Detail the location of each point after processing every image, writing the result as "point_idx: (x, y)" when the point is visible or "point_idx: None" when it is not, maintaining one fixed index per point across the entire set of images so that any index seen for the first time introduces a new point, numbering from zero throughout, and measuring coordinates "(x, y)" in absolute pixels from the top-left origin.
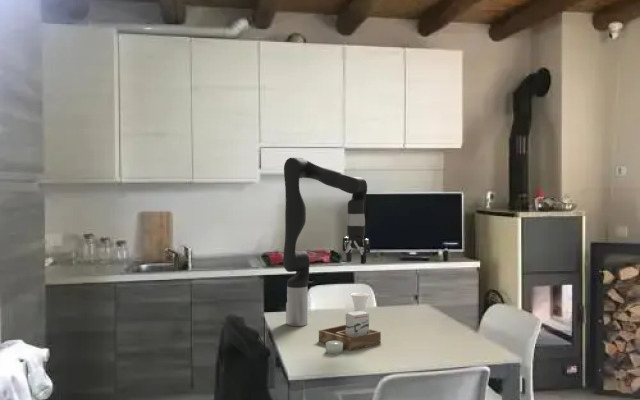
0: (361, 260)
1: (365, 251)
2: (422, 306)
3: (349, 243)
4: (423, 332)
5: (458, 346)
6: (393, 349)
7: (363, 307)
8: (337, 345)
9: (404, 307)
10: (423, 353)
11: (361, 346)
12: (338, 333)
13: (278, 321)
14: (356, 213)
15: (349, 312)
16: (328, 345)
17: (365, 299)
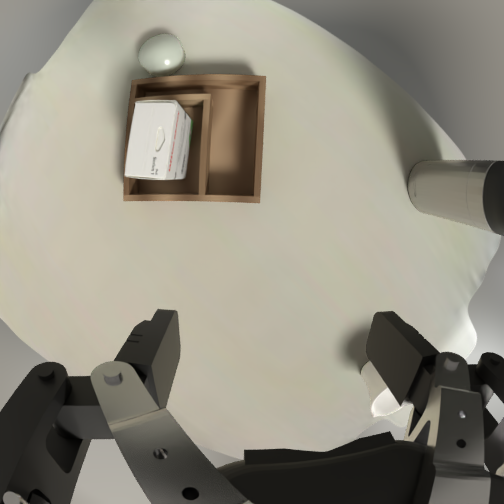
0: (155, 324)
1: (32, 381)
2: None
3: (469, 465)
4: None
5: (40, 302)
6: (83, 182)
7: (368, 380)
8: (141, 47)
9: (326, 450)
10: (37, 211)
11: None
12: (197, 94)
13: None
14: None
15: (171, 116)
16: (161, 35)
17: (371, 396)
